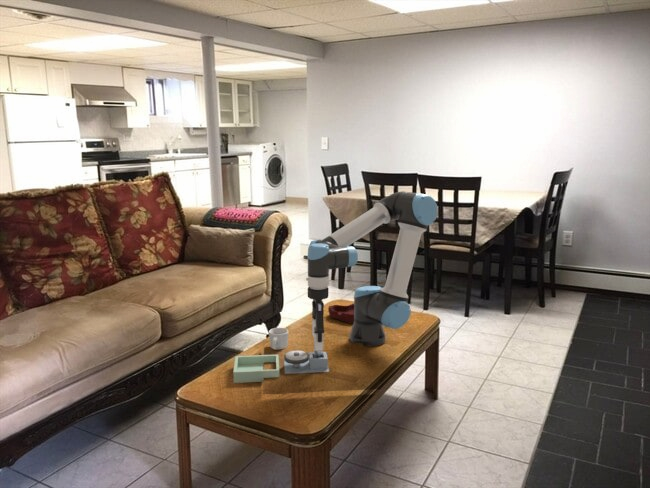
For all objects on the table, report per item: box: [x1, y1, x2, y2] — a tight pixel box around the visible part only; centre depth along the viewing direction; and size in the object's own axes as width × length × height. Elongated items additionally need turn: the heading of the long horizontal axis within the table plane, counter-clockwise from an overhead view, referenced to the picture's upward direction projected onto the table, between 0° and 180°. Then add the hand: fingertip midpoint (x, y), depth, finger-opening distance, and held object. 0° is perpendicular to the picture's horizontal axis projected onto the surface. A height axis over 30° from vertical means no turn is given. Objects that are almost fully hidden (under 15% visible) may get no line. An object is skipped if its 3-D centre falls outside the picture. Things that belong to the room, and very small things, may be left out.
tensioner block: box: [283, 350, 330, 375], centre depth 199 cm, size 16×11×7 cm
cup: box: [268, 327, 289, 350], centre depth 216 cm, size 11×8×8 cm
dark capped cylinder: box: [313, 327, 323, 358], centre depth 198 cm, size 3×3×15 cm
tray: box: [232, 354, 280, 384], centre depth 196 cm, size 16×14×4 cm
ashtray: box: [327, 303, 354, 324], centre depth 254 cm, size 18×16×5 cm
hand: (317, 342), depth 197 cm, fingers open, 13 cm apart
